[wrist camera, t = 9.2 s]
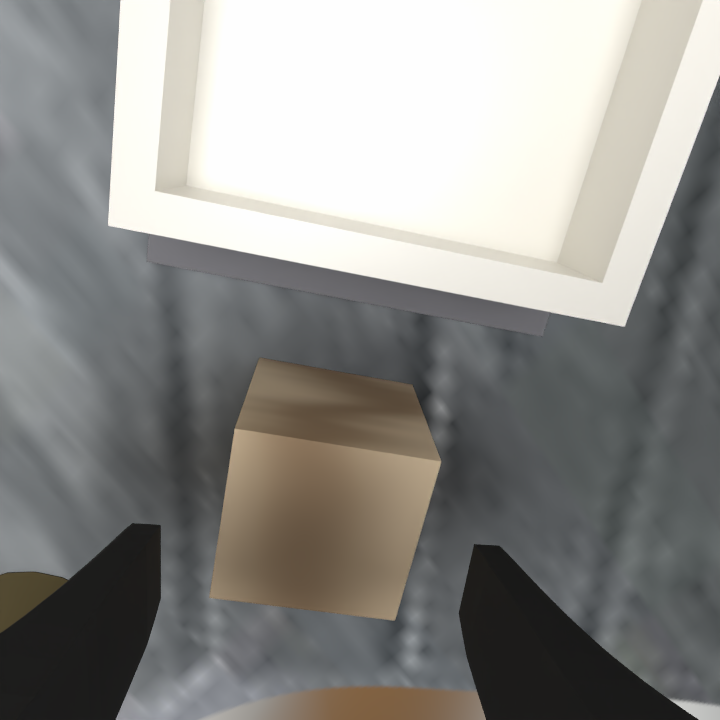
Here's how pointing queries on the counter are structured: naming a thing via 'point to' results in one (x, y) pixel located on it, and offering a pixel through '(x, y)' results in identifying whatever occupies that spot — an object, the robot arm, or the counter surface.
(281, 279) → the flat gray panel
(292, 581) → the wooden block
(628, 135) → the white square tray
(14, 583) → the cork
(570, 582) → the counter surface
